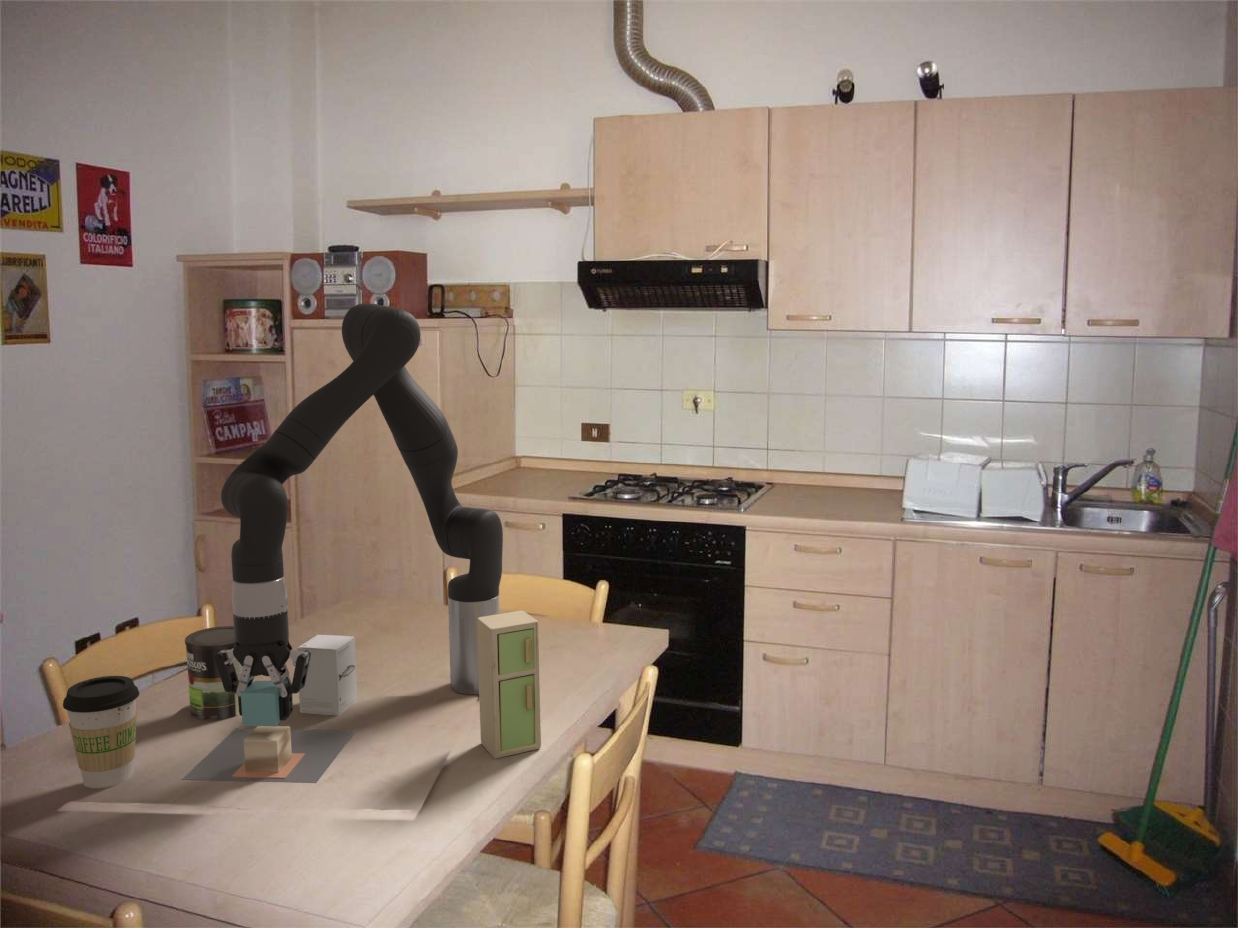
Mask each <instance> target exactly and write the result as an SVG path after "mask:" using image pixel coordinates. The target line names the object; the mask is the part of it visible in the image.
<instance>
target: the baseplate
mask: <svg viewBox="0 0 1238 928" xmlns="http://www.w3.org/2000/svg"><path fill="white" fill-rule="evenodd" d="M254 729H255V728H246V727H245V728H242V727H236V728H235V729H233V730H232V731H231V732H230V733H229V734H228V735H227V736H226V737H224V739H223V740H222V741H221V742H219V743H218V744H217V745H216V747H214V749H212V750H211V751H210V752H209V753H208V754H207V755H206V756H204V758H203V759H202V760H201V761H200V762H198V763H197V764H196V765H195V766H194V767H193V768H192V769H191V770H190V771H188V773H186V775H184V777H182V778H181V781H187V780H189V781H215V782H216V781H220V782H221V781H222V782H226V781H227V782H257V783H258V782H262V783H263V782H264V783H267V782H268V783H271V782H272V783H301V784H302V783H306V784H308V783H310V784H317V783H318V782H319V780H320V778H321V777H322V776H323V775H324V773H326V771H327V770H328V769H329V767H330V766H331V765H332V763H333V762H334V760H336V758H337V757H338V755H339V754H340V752H341V751H342V750H343V749H344V748H345V747H346V745H347V744H348V742H349V741H350V740H351V739H352V737H353V736H354V735H355V733H356V732H357V730H343V729H342V730H338V729H336V730H335V729H334V730H333V729H296V728H295V729H294V728H293V729H291V728H290V732H291V749H292V758H291V759H290V760H289V761H288V763H287V764H286V765H285V766H284V767H283V768H282V769H281V771H280V772H279V773H275V772H246V769H245V754H244V739H245V738H246V737H247V736H248V735H249V734H250V733H251V732H252V731H253V730H254Z"/></svg>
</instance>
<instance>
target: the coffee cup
mask: <svg viewBox="0 0 1238 928" xmlns="http://www.w3.org/2000/svg"><path fill="white" fill-rule="evenodd" d="M139 696H140V690H139V688H138V686H137V685H135V682H134V680H133V679H132V678H131V677H129V676H126V675H125V676H124V675H105V676H99V677H93V678H89V679H85V680H82V681H79V682H77V683H75V684H73V685H71V686H70V687H69V688H67V690H66V695H65V697H64V698H63V701H62V702H63V703H62V707H63V709H64V710H65V711H66V712H67V717H68V720H69V723H68V726H69V730H70V735H71V739H72V743H73V748H74V751H75V756H76V760H77V766H78V768H79V769H80V774H81V777H82V782H83V786H84V787H87V788H89V789H104V788H106V789H107V788H110V787H111V788H112V787H115V786H118V785H121V784H122V783H125V782H127V781H128V780H130V779H131V778H132V777H133V772H134V758H135V755H136V753H135V752H136V739H137V738H136V734H137V717H138V716H137V714H138V712H137V710H136V708H137V698H138V697H139Z"/></svg>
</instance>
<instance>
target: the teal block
mask: <svg viewBox="0 0 1238 928" xmlns="http://www.w3.org/2000/svg"><path fill="white" fill-rule="evenodd" d="M279 697H280V694H279V692H278V690H277V687H276V685H275V684H273V683H272V680H253V683H252V684H251V685H250V686H248V687H247V689H246V690H244V691H243V692H241V705H242V716H241V717H242V726H243V727H244V726H245V727H257V726H279V724H280V723H281V722H282V721H280V712H279Z"/></svg>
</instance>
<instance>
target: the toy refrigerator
mask: <svg viewBox="0 0 1238 928" xmlns="http://www.w3.org/2000/svg"><path fill="white" fill-rule="evenodd" d="M539 639H540V638H539V622H538V620H537V619H536V618H535V617H533V616H531V615H530V614H529V613H527V612H526V611H524V610H516V611H509V612H503V613H499V614H496V615H490V616H484V617H479V618H477V645H478V672H479V694H478V696H479V697H478V698H479V701H478V702H479V721H480V722H479V723H480V724H479V725H480V726H479V727H480V743H481V745H482V746H483V747H484V748H485V749H486V750H487V752H488V753H490V755H491V756H492V757H493V759H496V760H497V759H500V758H505V757H510V756H514V755H518V754H521V753H522V754H523V753H526V752H531V751H535V750H539V749H540V748H541V746H542V732H541V731H542V729H541V726H542V725H541V695H540V694H541V690H540V689H541V687H540V686H541V685H540V684H541V683H540V647H539V646H540V644H539V643H540V641H539Z"/></svg>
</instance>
